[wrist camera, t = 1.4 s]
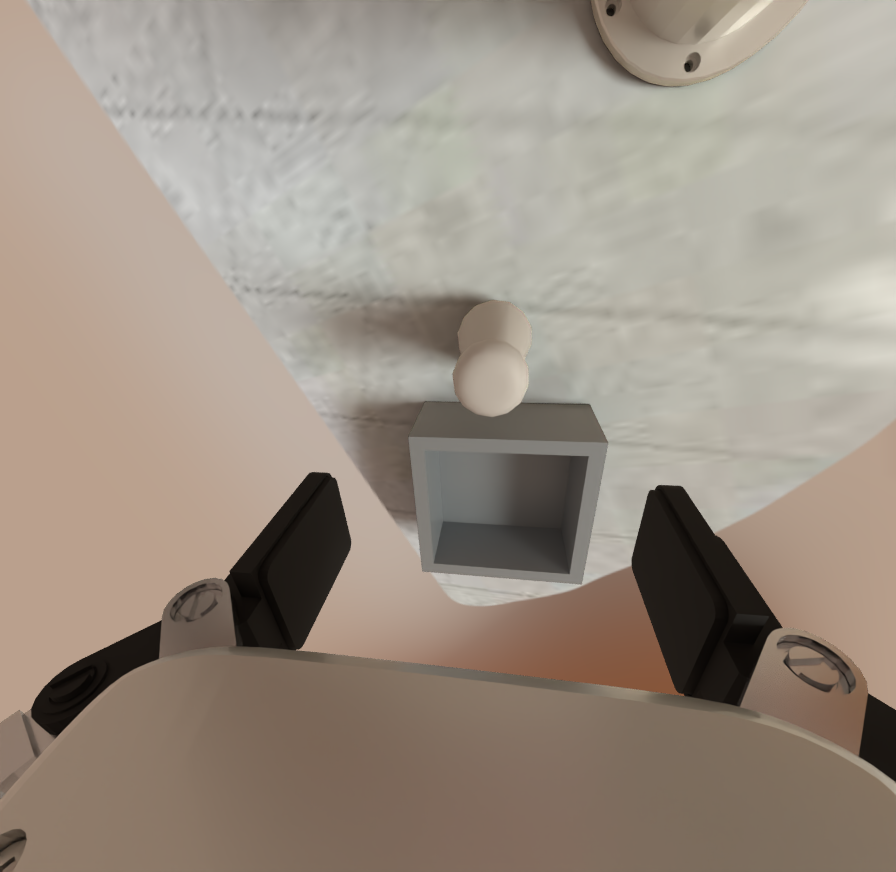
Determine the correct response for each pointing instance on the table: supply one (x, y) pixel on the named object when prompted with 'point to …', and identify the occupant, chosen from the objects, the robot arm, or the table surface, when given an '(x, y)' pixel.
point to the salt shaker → (492, 358)
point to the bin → (507, 489)
